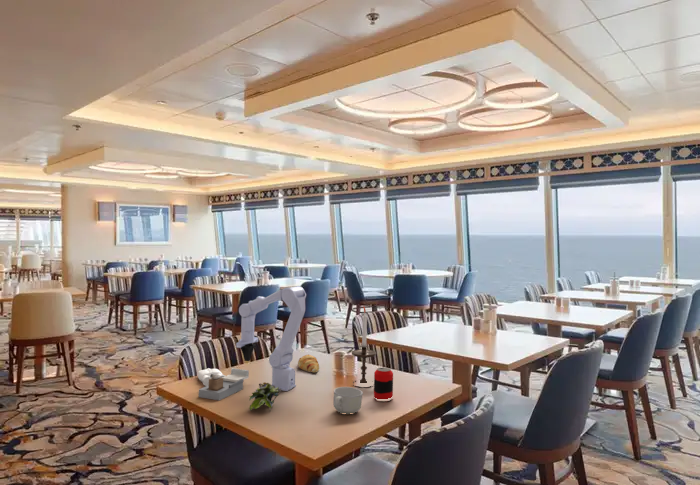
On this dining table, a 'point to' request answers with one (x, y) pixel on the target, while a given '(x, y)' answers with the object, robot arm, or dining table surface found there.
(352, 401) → the teacup
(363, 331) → the candlestick
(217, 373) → the binoculars
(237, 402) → the dining table surface
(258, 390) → the green leafy plant
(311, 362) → the croissant
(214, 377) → the block
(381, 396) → the soda can
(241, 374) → the lid
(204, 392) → the housing
